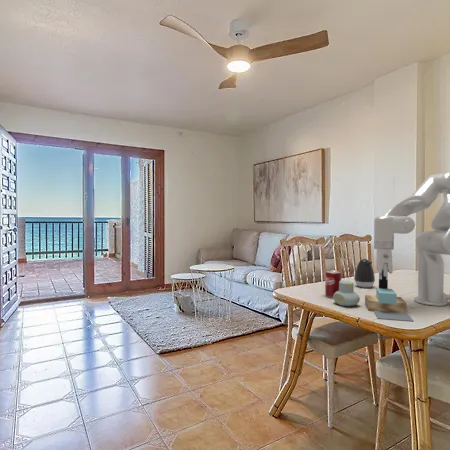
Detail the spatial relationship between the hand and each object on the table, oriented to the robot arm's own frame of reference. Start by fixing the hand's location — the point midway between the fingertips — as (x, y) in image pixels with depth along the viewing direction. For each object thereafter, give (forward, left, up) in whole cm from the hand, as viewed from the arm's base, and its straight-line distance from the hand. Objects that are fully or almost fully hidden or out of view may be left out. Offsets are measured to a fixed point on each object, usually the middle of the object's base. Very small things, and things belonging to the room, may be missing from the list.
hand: (383, 288), depth 138 cm
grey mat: (-1, +13, -8) cm, 15 cm away
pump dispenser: (+3, -39, -8) cm, 40 cm away
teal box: (0, +5, -4) cm, 7 cm away
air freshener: (+15, 0, -8) cm, 17 cm away
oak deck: (0, +2, -8) cm, 8 cm away
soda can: (+20, -13, -8) cm, 25 cm away
